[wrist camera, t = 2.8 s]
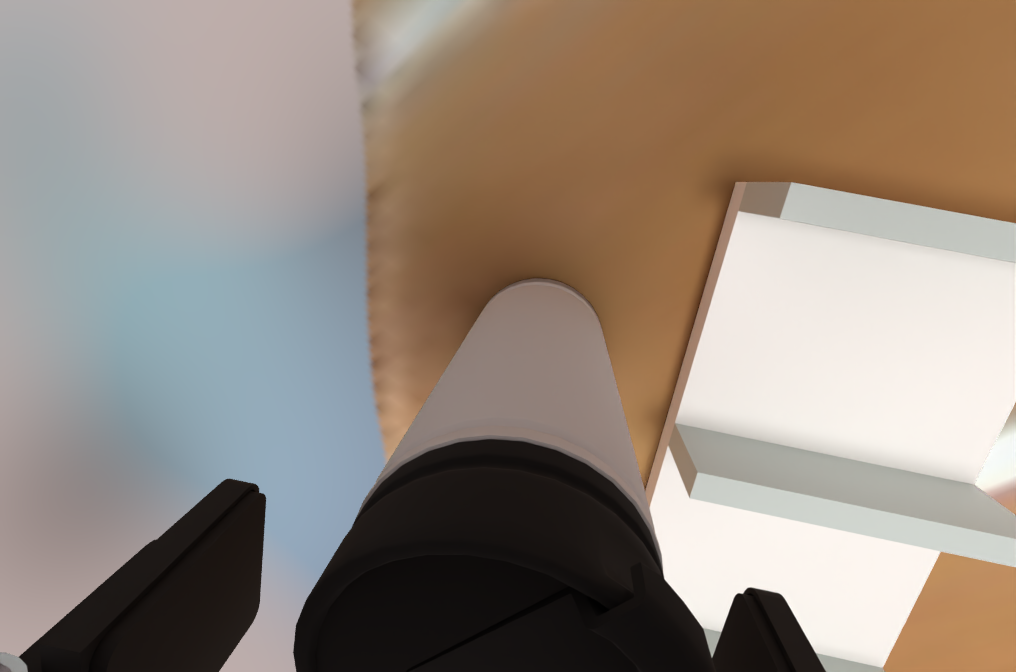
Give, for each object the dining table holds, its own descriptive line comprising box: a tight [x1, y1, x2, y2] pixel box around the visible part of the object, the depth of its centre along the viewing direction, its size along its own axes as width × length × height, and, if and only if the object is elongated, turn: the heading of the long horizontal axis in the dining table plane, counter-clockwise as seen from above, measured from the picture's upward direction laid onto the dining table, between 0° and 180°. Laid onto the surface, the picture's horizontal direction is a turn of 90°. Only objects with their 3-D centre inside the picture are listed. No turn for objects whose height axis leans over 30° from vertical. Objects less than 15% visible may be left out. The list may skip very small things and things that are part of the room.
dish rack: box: [645, 182, 1016, 672], centre depth 24 cm, size 24×14×6 cm, turn 170°
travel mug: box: [293, 278, 716, 672], centre depth 17 cm, size 6×7×20 cm
